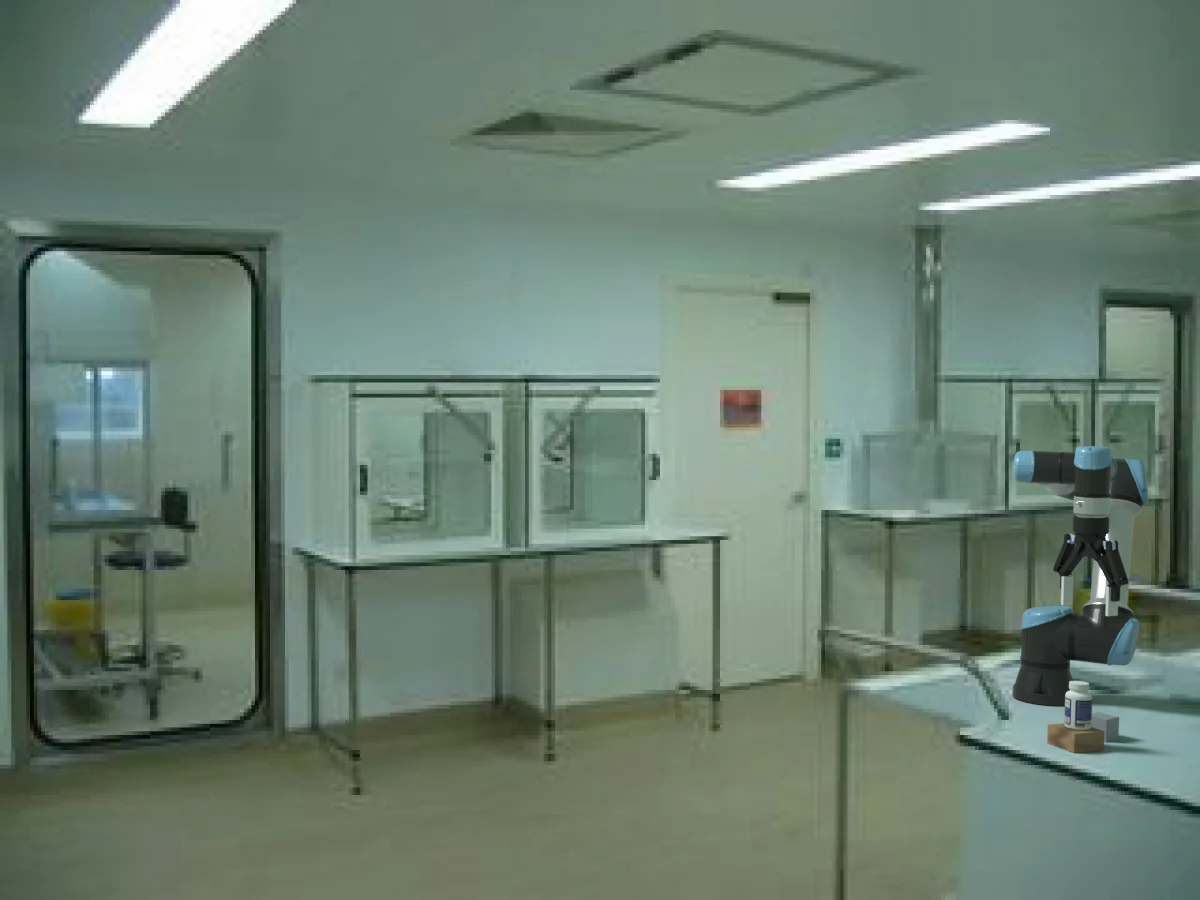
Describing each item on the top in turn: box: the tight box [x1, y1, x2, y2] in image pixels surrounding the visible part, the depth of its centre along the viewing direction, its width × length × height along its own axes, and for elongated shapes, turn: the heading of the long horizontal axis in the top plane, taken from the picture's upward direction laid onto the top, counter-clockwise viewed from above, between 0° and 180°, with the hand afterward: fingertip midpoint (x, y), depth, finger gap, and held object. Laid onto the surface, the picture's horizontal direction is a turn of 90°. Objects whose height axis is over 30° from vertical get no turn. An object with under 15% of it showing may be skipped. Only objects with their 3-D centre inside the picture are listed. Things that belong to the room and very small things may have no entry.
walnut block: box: [1046, 722, 1105, 754], centre depth 257 cm, size 8×8×4 cm
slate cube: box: [1091, 711, 1120, 743], centre depth 265 cm, size 5×5×5 cm
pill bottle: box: [1064, 680, 1093, 730], centre depth 257 cm, size 5×5×10 cm
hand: (1088, 610), depth 269 cm, fingers open, 13 cm apart
